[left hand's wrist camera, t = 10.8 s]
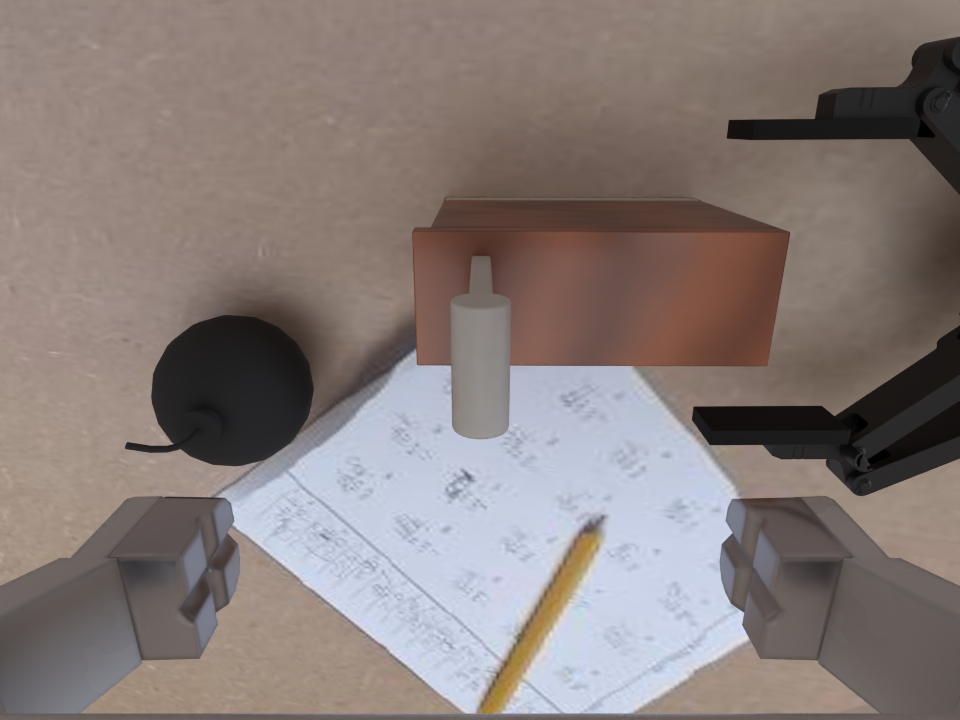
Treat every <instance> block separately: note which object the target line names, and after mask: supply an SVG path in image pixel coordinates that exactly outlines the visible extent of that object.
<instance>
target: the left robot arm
mask: <svg viewBox="0 0 960 720" xmlns="http://www.w3.org/2000/svg"><path fill="white" fill-rule="evenodd" d="M233 522H234V517H233V512H232V507H231V503H230V502H229V501H228V500H227V499H226V498H205V497H162V496H150V497H132V498H128V499H126V500H125V501H124V502H123V503H122V505H121V506H120V507H119V508H118V509H117V510H116V511H115V512H114V513H113V514H112V515H111V516H110V517H109V518H108V519H107V520H106V521H105V522H104V523H103V524H102V525H101V526H100V528H99V529H98V530H97V531H96V532H95V533H94V534H93V535H92V536H91V537H90V538H89V539H88V540H87V541H86V542H85V543H84V544H83V545H82V546H81V547H80V548H79V549H78V551H77V552H76V553H75V554H74V555H73V556H72V557H71V558H59V559H57V560H55V561H53V562H51V563H48V564H46V565H44V566H42V567H40V568H38V569H36V570H33V571H31V572H29V573H27V574H25V575H23V576H21V577H19V578H16V579H14V580H12V581H10V582H8V583H6V584H4V585H1V586H0V720H960V586H958V585H956V584H954V583H952V582H950V581H948V580H946V579H944V578H941V577H939V576H937V575H935V574H933V573H931V572H929V571H926V570H924V569H922V568H920V567H918V566H916V565H914V564H912V563H909V562H907V561H905V560H903V559H901V558H889V557H888V556H887V555H886V554H885V553H884V551H883V550H882V549H881V548H880V547H879V546H878V545H877V544H876V543H875V542H874V541H873V540H872V539H871V538H870V537H869V536H868V535H867V534H866V533H865V532H864V531H863V530H862V528H861V527H860V526H859V525H858V524H857V523H856V522H855V521H854V520H853V519H852V518H851V517H850V516H849V515H848V514H847V513H846V512H845V511H844V510H843V509H842V508H841V506H840V505H839V504H838V503H837V502H836V501H835V500H834V499H831V498H829V497H827V496H814V497H794V498H751V499H732V500H731V502H730V504H729V506H728V510H727V516H726V522H727V524H728V526H729V527H730V529H731V531H732V532H733V533H732V534H731V535H730V536H729V537H728V538H727V539H726V540H725V542H724V543H723V544H722V547H721V555H720V571H721V580H722V583H723V586H724V590H725V593H726V595H727V597H728V599H729V601H730V603H731V604H732V605H734V606H735V607H737V608H738V609H740V610H741V611H743V612H744V618H743V623H742V625H743V627H744V629H745V631H746V633H747V635H748V637H749V639H750V640H751V642H752V644H753V646H754V648H755V650H756V652H757V653H758V655H759V657H760V659H788V660H819V661H818V663H819V664H820V665H821V666H822V667H824V668H825V669H826V670H827V671H828V672H830V673H831V674H832V675H833V676H835V677H836V678H837V679H838V680H840V681H841V682H842V683H843V684H845V685H846V686H847V687H848V688H849V689H851V690H852V691H853V692H854V693H856V694H857V695H858V696H859V697H861V698H862V699H863V700H864V701H865V702H867V703H868V704H869V705H871V706H872V707H873V708H874V709H875V710H877V711H878V712H879V713H880V714H80V713H81V712H82V711H84V710H85V709H86V708H87V707H89V706H90V705H91V704H92V703H93V702H95V701H96V700H97V699H98V698H100V697H101V696H102V695H103V694H105V693H106V692H107V691H108V690H110V689H111V688H112V687H113V686H114V685H116V684H117V683H118V682H119V681H121V680H122V679H123V678H124V677H126V676H127V675H128V674H129V673H131V672H132V671H133V670H134V669H136V668H137V667H138V666H139V665H140V664H142V661H141V660H171V659H200V657H201V656H202V654H203V652H204V650H205V648H206V646H207V644H208V642H209V640H210V639H211V637H212V635H213V633H214V631H215V629H216V627H217V625H218V623H217V617H216V612H217V611H219V610H220V609H222V608H223V607H225V606H226V605H228V604H229V603H230V601H231V598H232V596H233V594H234V592H235V590H236V587H237V582H238V578H239V573H240V553H239V547H238V544H237V543H236V542H235V540H234V539H233V538H232V537H231V536H230V535H229V534H228V533H227V532H228V531H229V529H230V527H231V526H232V524H233Z"/></svg>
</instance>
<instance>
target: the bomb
mask: <svg viewBox="0 0 960 720" xmlns="http://www.w3.org/2000/svg"><path fill="white" fill-rule="evenodd" d="M313 391H314V388H313V382H312V377H311V372H310V367H309V363H308V361H307V359H306V358H305V356H304V354H303V353H302V351H301V349H300V348H299V346H298V345H297V343H296V342H295V341H294V340H293V339H291V338H290V337H289V336H288V335H287V334H286V333H284V332H283V331H282V330H281V329H280V328H278V327H277V326H275V325H272V324H270V323H267V322H265V321H262V320H260V319H258V318H255V317H245V316H232V315H223V316H220V317H216V318H212V319H209V320H205V321H202V322H199V323H196V324H194V325H192V326H191V327H190V328H188V329H187V330H186V331H184V332H183V333H182V334H180V335H179V336H178V337H177V338H175V339H174V340H173V341H172V342H171V343H170V344H169V345H168V346H167V348H166V349H165V351H164V353H163V355H162V357H161V359H160V361H159V362H158V364H157V366H156V368H155V371H154V373H153V383H152V395H151V398H152V404H153V408H154V411H155V414H156V418H157V421H158V424H159V425H160V427H161V428H162V429H163V431H164V432H165V434H166V435H167V436H168V438H169V439H170V440H171V442H172V443H173V445H168V446H149V445H142V444H136V443H130V442H127V443H126V446H125V449H129V450H136V451H143V452H149V453H161V452H171V451H175V450H179V449H181V450H183V451H184V452H185V453H187V454H188V455H189V456H191V457H193V458H196V459H199V460H201V461H204V462H207V463H209V464H212V465H225V466H242V465H246V464H250V463H254V462H258V461H262V460H265V459H267V458H269V457H271V456H272V455H274V454H275V453H277V452H278V451H279V450H281V449H282V448H284V447H285V446H287V445H288V444H290V443H291V441H292V440H293V439H294V438H295V437H296V435H297V434H298V432H299V431H300V429H301V428H302V426H303V425H304V423H305V421H306V420H307V418H308V415H309V413H310V408H311V402H312V397H313Z"/></svg>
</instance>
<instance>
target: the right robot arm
mask: <svg viewBox="0 0 960 720" xmlns="http://www.w3.org/2000/svg"><path fill="white" fill-rule="evenodd" d="M912 67H913V69H912V71H911V73H910V74H909V76H908V77H907V79H906V80H905V81H904V82H903V83H902V84H901V85H899V86H898V87H877V88H842V89H833V90H830V91H827V92H825V93H822V94H820V95H819V98H818V104H817V110H816V116H815V119H773V120H729V125H728V133H727V139H745V140H808V139H910V140H911V141H912V142H913V143H914V145H915V146H916V147H917V148H918V149H919V150H920V151H921V152H922V153H923V155H924V156H925V157H926V158H927V159H928V160H929V161H930V162H931V163H932V165H933V166H934V167H935V168H936V169H937V170H938V171H939V172H940V173H941V174H942V176H943V177H944V178H945V179H946V180H947V181H948V182H949V183H950V184H951V186H952V187H953V188H954V189H955V190H956V191H957V192H958V193H959V194H960V37H955V38H950V39H944V40H939V41H934V42H929V43H925V44H923V45H921V46H919V47H918V49H917V50H916V51H915V52H914V54H913V57H912ZM959 315H960V314H959ZM692 421H693V422H694V423H695V425H696V426H697V428H698V429H699V430H700V432H701V433H702V435H703V436H704V437H705V439H706V440H707V442H708V443H709V444H710V445H763V446H764V447H765V448H766V449H767V450H768V451H769V453H770V454H771V455H772V456H775V457H777V458H780V459H827V460H826V466H827V467H828V468H829V469H830V470H831V471H832V472H833V473H834V474H835V475H836V476H837V477H838V478H839V479H840V480H841V481H842V482H843V483H844V484H845V485H846V486H847V487H848V488H849V489H850V490H851V491H852V492H853V493H854V494H856V495H858V496H864V495H868V494H870V493H873V492H876V491H878V490H881V489H883V488H886V487H888V486H891V485H893V484H896V483H898V482H901V481H904V480H906V479H909V478H911V477H914V476H916V475H919V474H921V473H924V472H926V471H929V470H932V469H934V468H937V467H939V466H942V465H944V464H947V463H949V462H952V461H954V460H957V459H960V326H958V327H957V328H955V329H954V330H952V331H951V332H949V333H948V334H946V335H945V336H943V337H942V338H940V339H939V340H938V342H937V348H936V349H935V350H934V351H932V352H931V353H929V354H928V355H926V356H925V357H923V358H922V359H920V360H919V361H917V362H916V363H914V364H913V365H911V366H910V367H908V368H907V369H905V370H904V371H902V372H901V373H899V374H898V375H896V376H895V377H893V378H892V379H890V380H889V381H887V382H886V383H884V384H883V385H881V386H880V387H878V388H877V389H875V390H874V391H872V392H871V393H869V394H868V395H866V396H865V397H863V398H862V399H860V400H859V401H857V402H856V403H854V404H853V405H851V406H850V407H848V408H847V409H845V410H843V411H842V412H840V413H839V414H837V415H836V416H833V415H832V414H831V413H830V412H829V411H827V410H826V409H825V408H824V407H822V406H714V407H694V408H693V416H692Z"/></svg>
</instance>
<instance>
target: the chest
mask: <svg viewBox="0 0 960 720" xmlns="http://www.w3.org/2000/svg"><path fill="white" fill-rule="evenodd" d="M431 228H777V227H774V226H771V225H768V224H765V223H762V222H759V221H757V220H754V219H751V218H748V217H745V216H742V215H739V214H736V213H734V212H731V211H728V210H725V209H722V208H719V207H716V206H713V205H711V204H708V203H705V202H702V201H701V200H698V199H695V198H503V197H445V199H444V202H443V204H442V206H441V208H440V210H439V212H438V214H437V216H436V218H435V220H434V222H433V224H432V226H431Z"/></svg>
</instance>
